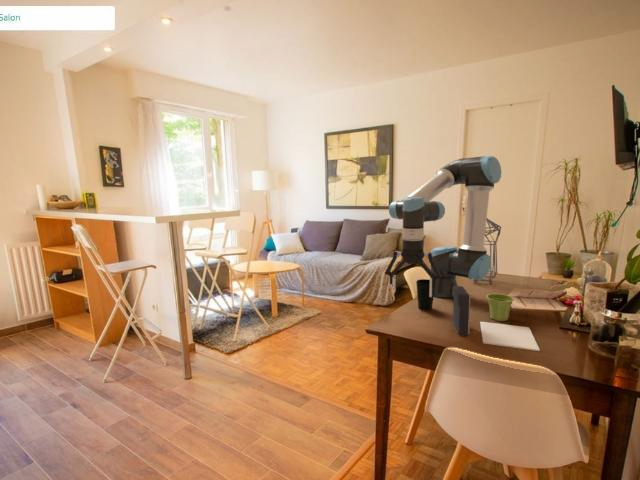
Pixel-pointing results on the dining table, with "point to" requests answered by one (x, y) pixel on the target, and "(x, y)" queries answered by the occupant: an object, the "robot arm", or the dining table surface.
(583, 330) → the dining table surface
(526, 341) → the felt mat
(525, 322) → the dining table surface
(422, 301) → the cup
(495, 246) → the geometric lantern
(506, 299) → the plant pot
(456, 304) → the dark navy block
